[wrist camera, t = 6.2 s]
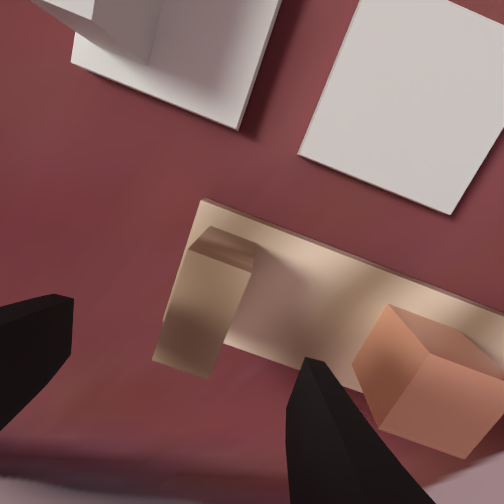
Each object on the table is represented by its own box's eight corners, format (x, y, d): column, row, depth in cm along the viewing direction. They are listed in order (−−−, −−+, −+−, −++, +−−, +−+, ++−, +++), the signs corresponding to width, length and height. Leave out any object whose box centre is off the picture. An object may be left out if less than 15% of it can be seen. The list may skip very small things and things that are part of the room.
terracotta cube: (458, 330, 15) (524, 389, 11) (417, 388, 16) (464, 459, 12) (387, 303, 14) (430, 353, 11) (351, 364, 16) (378, 429, 12)
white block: (529, 56, 12) (703, -16, 7) (438, 211, 14) (525, 236, 9) (117, -126, 11) (1, -350, 6) (85, 69, 13) (-21, 15, 8)
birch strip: (520, 319, 15) (634, 389, 11) (448, 412, 17) (515, 507, 13) (205, 197, 14) (173, 214, 10) (168, 311, 16) (127, 372, 12)
